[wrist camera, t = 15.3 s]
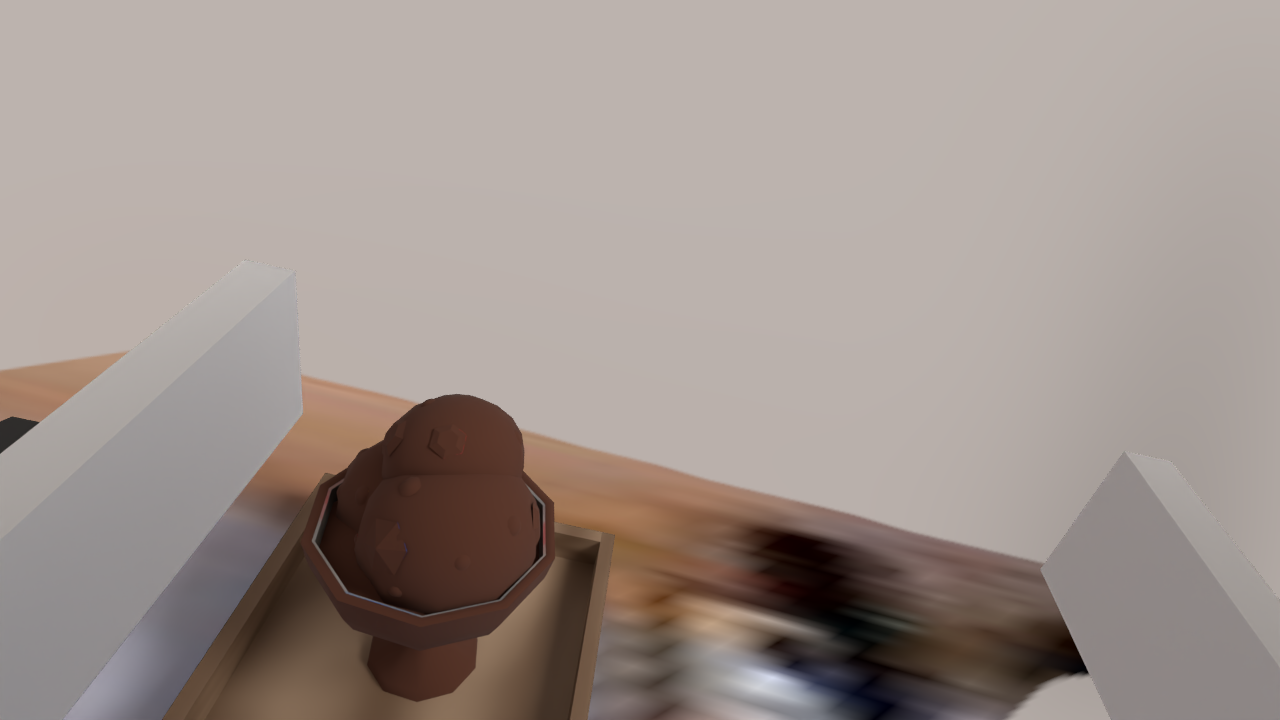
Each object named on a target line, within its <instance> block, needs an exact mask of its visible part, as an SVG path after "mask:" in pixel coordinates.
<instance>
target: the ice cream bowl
mask: <svg viewBox="0 0 1280 720" xmlns="http://www.w3.org/2000/svg"><path fill="white" fill-rule="evenodd" d="M523 468H524V446H523V439H522V434H521V432H520V430H519V428H518V427H517V425H516V423H515V422H514V420H513V418H512V417H510V416H509V415H508V414H507V413H506V412H504V411H503V410H502V409H501V408H499V407H498V406H497V405H494V404H492V403H490V402H487V401H485V400H483V399H480V398H477V397H474V396H470V395H460V394H454V395H444V396H441V397H438V398H435V399H428V400H426V401H425V402H423V403H421V404H418V405H416V406H414V407H413V408H412V409H411V410H410V411H408V412H407V413H406V414H405V415H404V416H402V417H401V418H400V419H399V420H398V421H396V422H395V423H394V424H393V425H392V426H391V428H390V429H389V430H388V431H387V433H386V435H385V438H384V440H383V441H381V442H379V443H377V444H376V445H374V446H372V447H370V448H369V449H368V448H366V449H364V450H361V451H360V452H359V453H358V455H357V456H356V458H355V459H354V460H353V461H352V463H351V464H350V465H349V466H348V468H346V469H345V470H343V471H342V472H340V473H338V474H337V475H335V476H334V477H332V478H331V479H329V480H327V481H326V482H324V483H323V484H321V485H320V487H319V490H318V492H317V495H316V498H315V501H314V504H313V507H312V510H311V513H310V516H309V519H308V522H307V525H306V528H305V531H304V533H303V536H302V539H301V542H300V544H301V546H302V549H303V552H304V555H305V557H306V560H307V563H308V566H309V567H310V569H311V570H312V572H313V573H314V575H315V577H316V578H317V580H318V581H319V583H320V584H321V586H322V588H323V589H324V591H325V592H326V594H327V595H328V597H329V599H330V600H331V602H332V603H333V605H334V607H335V608H336V610H337V611H338V613H339V614H340V616H341V618H342V619H343V620H344V621H345V622H346V623H347V624H348V625H349V626H350V627H351V628H352V629H353V630H356V631H359V632H362V633H365V634H368V635H371V636H373V638H372V643H371V648H370V653H369V658H368V662H367V666H368V668H369V669H370V671H371V672H372V674H373V675H374V677H375V679H376V680H377V682H378V683H379V685H380V687H381V688H382V690H383V691H384V692H387V693H390V694H393V695H396V696H400V697H403V698H406V699H409V700H412V701H415V702H420V701H423V700H427V699H431V698H435V697H439V696H442V695H446V694H450V693H453V692H454V691H455V690H456V689H457V688H458V687H459V685H460V684H461V683H462V682H463V681H464V680H465V679H466V678H467V677H468V676H469V675H470V674H471V673H472V671H473V670H474V669H475V668H476V655H477V642H478V639H477V637H482V636H486V635H489V634H490V633H492V632H493V631H494V630H495V629H496V628H497V627H499V626H500V625H501V623H502V622H503V621H504V620H505V619H506V618H507V617H508V616H509V615H510V614H511V613H512V612H513V611H514V610H515V609H516V608H517V607H518V606H519V605H520V603H521V602H522V601H523V600H524V599H525V598H526V597H527V596H528V595H529V594H530V593H531V592H532V591H533V590H534V589H535V588H536V587H537V586H538V585H539V584H540V582H541V581H542V580H543V579H544V578H545V576H546V575H547V573H548V571H549V569H550V567H551V565H552V563H553V561H554V560H555V528H554V502H553V501H552V500H551V499H550V498H549V497H548V496H547V495H546V494H545V493H544V492H543V491H542V490H541V489H540V488H539V487H538V486H537V485H536V484H535V483H534V482H533V481H532V480H531V479H530V477H529V476H528V475H527V474H526V473H525V472H524V471H523Z"/></svg>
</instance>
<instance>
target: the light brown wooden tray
mask: <svg viewBox="0 0 1280 720" xmlns="http://www.w3.org/2000/svg"><path fill="white" fill-rule="evenodd" d="M334 476H335V475H333V474H328V473H325V474H324V476H323V477H322V479H321V480H320V482H319V483H318V485H317V486H316V488H315V489H314V491H313V492H312V494H311V495H310V497H309V498H308V500H307V501H306V503H305V504H304V506H303V507H302V509H301V510H300V512H299V513H298V515H297V516H296V518H295V519H294V521H293V522H292V524H291V525H290V527H289V528H288V530H287V532H286V533H285V535H284V536H283V538H282V539H281V541H280V542H279V544H278V545H277V547H276V548H275V550H274V551H273V553H272V554H271V556H270V557H269V559H268V560H267V562H266V563H265V565H264V566H263V568H262V569H261V571H260V572H259V574H258V575H257V577H256V578H255V580H254V581H253V583H252V584H251V586H250V587H249V589H248V590H247V592H246V593H245V595H244V596H243V598H242V600H241V601H240V603H239V604H238V606H237V607H236V609H235V610H234V612H233V613H232V615H231V616H230V618H229V619H228V621H227V622H226V624H225V625H224V627H223V628H222V630H221V631H220V633H219V634H218V636H217V637H216V639H215V640H214V642H213V643H212V645H211V646H210V648H209V649H208V651H207V652H206V654H205V655H204V657H203V658H202V660H201V661H200V663H199V665H198V666H197V668H196V669H195V671H194V672H193V674H192V675H191V677H190V678H189V680H188V681H187V683H186V684H185V686H184V687H183V689H182V690H181V692H180V693H179V695H178V696H177V698H176V699H175V701H174V702H173V704H172V705H171V707H170V708H169V710H168V711H167V713H166V714H165V716H164V717H163V719H162V720H587V719H588V712H589V705H590V699H591V692H592V685H593V679H594V672H595V665H596V658H597V652H598V645H599V638H600V632H601V625H602V618H603V612H604V605H605V598H606V592H607V585H608V578H609V572H610V565H611V558H612V551H613V545H614V538H615V535H613V534H608V533H604V532H599V531H594V530H590V529H585V528H580V527H576V526H571V525H566V524H562V523H557V522H554V528H555V560H554V561H553V563H552V565H551V567H550V569H549V571H548V573H547V575H546V576H545V578H544V579H543V580H542V581H541V582H540V584H539V585H538V586H537V587H536V588H535V589H534V590H533V591H532V592H531V593H530V594H529V595H528V596H527V597H526V598H525V599H524V600H523V601H522V602H521V603H520V605H519V606H518V607H517V608H516V609H515V610H514V611H513V612H512V613H511V614H510V615H509V616H508V617H507V618H506V619H505V620H504V621H503V622H502V623H501V625H500V626H499V627H497V628H496V629H495V630H494V631H493V632H492V633H490V634H489V635H486V636H482V637H477V639H478V642H477V655H476V668H475V669H474V670H473V671H472V673H471V674H470V675H469V676H468V677H467V678H466V679H465V680H464V681H463V682H462V683H461V684H460V685H459V687H458V688H457V689H456V690H455V691H454V692H453V693H450V694H446V695H442V696H439V697H435V698H431V699H427V700H423V701H420V702H415V701H412V700H409V699H406V698H403V697H400V696H396V695H393V694H390V693H387V692H384V691H383V690H382V688H381V687H380V685H379V683H378V682H377V680H376V679H375V677H374V675H373V674H372V672H371V671H370V669H369V668H368V666H367V662H368V658H369V653H370V648H371V643H372V638H373V636H371V635H368V634H365V633H362V632H359V631H356V630H353V629H352V628H351V627H350V626H349V625H348V624H347V623H346V622H345V621H344V620H343V619H342V618H341V616H340V614H339V613H338V611H337V610H336V608H335V607H334V605H333V603H332V602H331V600H330V599H329V597H328V595H327V594H326V592H325V591H324V589H323V588H322V586H321V584H320V583H319V581H318V580H317V578H316V577H315V575H314V573H313V572H312V570H311V569H310V567H309V566H308V563H307V560H306V557H305V555H304V552H303V549H302V546H301V544H300V542H301V539H302V536H303V533H304V531H305V528H306V525H307V522H308V519H309V516H310V513H311V510H312V507H313V504H314V501H315V498H316V495H317V492H318V490H319V487H320V485H321V484H323V483H324V482H326V481H327V480H329V479H331V478H332V477H334Z"/></svg>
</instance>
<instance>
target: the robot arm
mask: <svg viewBox="0 0 1280 720" xmlns="http://www.w3.org/2000/svg"><path fill="white" fill-rule="evenodd" d="M302 414H303V404H302V385H301V367H300V348H299V329H298V312H297V292H296V273H295V270H290V269H286V268H281V267H276V266H272V265H267V264H263V263H258V262H254V261H249V260H244V261H243V262H242V263H240V264H239V265H238V266H237V267H235V268H234V269H233V270H232V271H230V272H229V273H228V274H227V275H225V276H224V277H223V278H221V279H220V280H219V281H218V282H216V283H215V284H214V285H213V286H211V287H210V288H209V289H208V290H206V291H205V292H204V293H202V294H201V295H200V296H199V297H198V298H196V299H195V300H194V301H192V302H191V303H190V304H189V305H187V306H186V307H185V308H184V309H182V310H181V311H180V312H179V313H177V314H176V315H175V316H173V317H172V318H171V319H170V320H168V321H167V322H166V323H165V324H163V325H162V326H161V327H160V328H158V329H157V330H156V331H155V332H153V333H152V334H151V335H150V336H148V337H147V338H146V339H144V340H143V341H142V342H141V343H139V344H138V345H137V346H136V347H134V348H133V349H132V350H131V351H129V352H128V353H127V354H126V355H124V356H123V357H122V358H120V359H119V360H118V361H117V362H115V363H114V364H113V365H112V366H110V367H109V368H108V369H107V370H105V371H104V372H103V373H102V374H100V375H99V376H98V377H97V378H95V379H94V380H93V381H91V382H90V383H89V384H88V385H86V386H85V387H84V388H83V389H81V390H80V391H79V392H78V393H76V394H75V395H74V396H73V397H71V398H70V399H69V400H68V401H66V402H65V403H64V404H62V405H61V406H60V407H59V408H57V409H56V410H55V411H54V412H52V413H51V414H50V415H49V416H47V417H46V418H45V419H44V420H42V421H41V422H36V421H31V420H26V419H21V418H17V417H10V418H8V419H5V420H3V421H1V422H0V720H63V719H64V717H65V716H66V715H67V713H68V712H69V711H70V710H71V708H72V707H73V706H74V705H75V703H76V702H77V701H78V699H79V698H80V697H81V696H82V694H83V693H84V692H85V690H86V689H87V688H88V687H89V685H90V684H91V683H92V682H93V680H94V679H95V678H96V676H97V675H98V674H99V673H100V671H101V670H102V669H103V668H104V666H105V665H106V664H107V662H108V661H109V660H110V659H111V657H112V656H113V655H114V654H115V652H116V651H117V650H118V648H119V647H120V646H121V645H122V643H123V642H124V641H125V640H126V638H127V637H128V636H129V634H130V633H131V632H132V631H133V629H134V628H135V627H136V626H137V624H138V623H139V622H140V620H141V619H142V618H143V617H144V615H145V614H146V613H147V612H148V610H149V609H150V608H151V606H152V605H153V604H154V603H155V601H156V600H157V599H158V597H159V596H160V595H161V594H162V592H163V591H164V590H165V589H166V587H167V586H168V585H169V583H170V582H171V581H172V580H173V578H174V577H175V576H176V575H177V573H178V572H179V571H180V569H181V568H182V567H183V566H184V564H185V563H186V562H187V561H188V559H189V558H190V557H191V555H192V554H193V553H194V552H195V550H196V549H197V548H198V547H199V545H200V544H201V543H202V541H203V540H204V539H205V538H206V536H207V535H208V534H209V533H210V531H211V530H212V529H213V527H214V526H215V525H216V524H217V522H218V521H219V520H220V518H221V517H222V516H223V515H224V513H225V512H226V511H227V510H228V508H229V507H230V506H231V504H232V503H233V502H234V501H235V499H236V498H237V497H238V496H239V494H240V493H241V492H242V490H243V489H244V488H245V487H246V485H247V484H248V483H249V482H250V480H251V479H252V478H253V476H254V475H255V474H256V473H257V471H258V470H259V469H260V468H261V466H262V465H263V464H264V462H265V461H266V460H267V459H268V457H269V456H270V455H271V454H272V452H273V451H274V450H275V448H276V447H277V446H278V445H279V443H280V442H281V441H282V439H283V438H284V437H285V436H286V434H287V433H288V432H289V431H290V429H291V428H292V427H293V425H294V424H295V423H296V422H297V420H298V419H299V418H300V417H301V415H302ZM1040 570H1041V572H1042V574H1043V576H1044V578H1045V580H1046V582H1047V585H1048V587H1049V589H1050V591H1051V593H1052V595H1053V597H1054V599H1055V602H1056V604H1057V606H1058V608H1059V610H1060V612H1061V614H1062V616H1063V619H1064V621H1065V623H1066V625H1067V627H1068V629H1069V631H1070V633H1071V636H1072V638H1073V640H1074V642H1075V644H1076V646H1077V648H1078V650H1079V653H1080V655H1081V657H1082V659H1083V661H1084V663H1085V665H1086V667H1087V670H1088V672H1089V674H1090V676H1091V678H1092V680H1093V682H1094V684H1095V686H1096V689H1097V691H1098V693H1099V695H1100V697H1101V699H1102V701H1103V703H1104V706H1105V708H1106V710H1107V712H1108V714H1109V716H1110V718H1111V720H1280V599H1279V598H1278V597H1277V596H1276V594H1275V593H1274V592H1273V590H1272V589H1271V588H1270V587H1269V585H1268V584H1267V583H1266V582H1265V580H1264V579H1263V578H1262V576H1261V575H1260V574H1259V573H1258V571H1257V570H1256V569H1255V568H1254V566H1253V565H1252V564H1251V562H1250V561H1249V560H1248V559H1247V557H1246V556H1245V555H1244V554H1243V552H1242V551H1241V550H1240V549H1239V547H1238V546H1237V545H1236V543H1235V542H1234V541H1233V540H1232V538H1231V537H1230V536H1229V534H1228V533H1227V532H1226V531H1225V529H1224V528H1223V527H1222V526H1221V524H1220V523H1219V522H1218V520H1217V519H1216V518H1215V517H1214V515H1213V514H1212V513H1211V511H1210V510H1209V509H1208V508H1207V507H1206V505H1205V504H1204V503H1203V501H1202V500H1201V499H1200V498H1199V496H1198V495H1197V494H1196V492H1195V491H1194V490H1193V489H1192V487H1191V486H1190V485H1189V483H1188V482H1187V481H1186V480H1185V479H1184V477H1183V476H1182V475H1181V473H1180V472H1179V471H1178V469H1176V467H1175V466H1174V464H1173V463H1172V462H1171V461H1168V460H1163V459H1158V458H1154V457H1149V456H1145V455H1140V454H1136V453H1131V452H1127V451H1124V452H1123V454H1122V455H1121V457H1120V458H1119V459H1118V461H1117V462H1116V464H1115V465H1114V466H1113V468H1112V469H1111V471H1110V472H1109V474H1108V475H1107V477H1106V478H1105V479H1104V481H1103V482H1102V483H1101V485H1100V486H1099V488H1098V489H1097V491H1096V492H1095V493H1094V495H1093V496H1092V497H1091V499H1090V500H1089V502H1088V503H1087V504H1086V506H1085V507H1084V509H1083V510H1082V512H1081V513H1080V514H1079V516H1078V517H1077V519H1076V520H1075V521H1074V523H1073V524H1072V526H1071V527H1070V528H1069V530H1068V531H1067V533H1066V534H1065V535H1064V537H1063V538H1062V540H1061V541H1060V542H1059V544H1058V545H1057V547H1056V548H1055V550H1054V551H1053V553H1052V554H1051V555H1050V557H1049V558H1048V559H1047V561H1046V562H1045V564H1044V565H1043V566H1042V568H1041V569H1040Z"/></svg>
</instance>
